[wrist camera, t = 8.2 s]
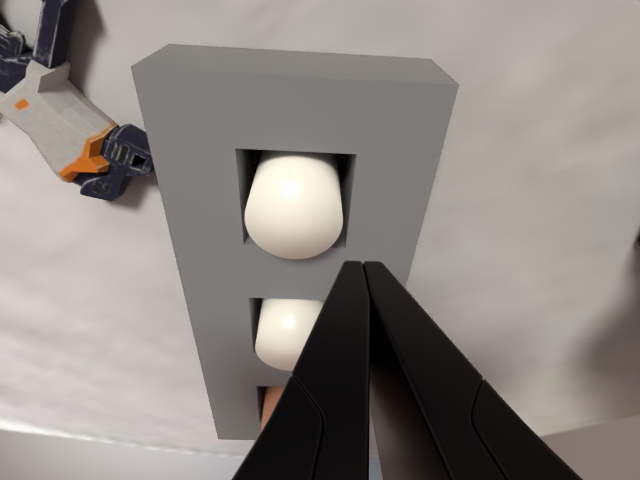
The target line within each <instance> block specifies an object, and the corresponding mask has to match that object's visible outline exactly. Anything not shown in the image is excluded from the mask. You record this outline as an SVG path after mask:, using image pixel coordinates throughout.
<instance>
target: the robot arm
mask: <svg viewBox="0 0 640 480" xmlns="http://www.w3.org/2000/svg"><path fill="white" fill-rule="evenodd" d="M638 244H639V245H640V238H639V240H638ZM369 407H370V408H371V414H372V419H373V425H374V431H375V436H376V442H377V447H378V453H379V459H380V464H381V470H382V476H383V480H583V479H581V478H580V477H579V476H578V475H577V474H576V473H575V472H574V471H573V470H572V469H571V468H570V467H569V466H568V465H567V464H566V463H565V462H564V461H563V460H562V459H561V458H560V457H559V456H557V455H556V454H555V453H554V452H553V451H552V450H551V449H550V448H549V447H548V446H547V445H546V444H545V443H544V442H543V441H542V440H541V439H540V438H539V437H538V436H537V435H536V434H535V433H534V432H533V431H532V430H531V429H530V428H529V427H528V426H527V425H526V424H525V423H524V422H523V421H522V419H521V418H520V417H519V416H518V415H517V414H516V413H515V412H514V411H513V410H512V409H511V407H510V406H509V405H508V404H507V403H506V402H505V401H504V400H503V399H502V398H501V397H500V396H499V394H498V393H497V392H496V391H495V390H494V389H493V388H492V386H491V385H490V384H489V383H488V382H487V381H486V380H485V379H483V380H482V375H481V374H480V373H479V372H478V371H477V370H476V368H475V367H474V366H473V365H472V364H471V363H470V362H469V360H468V359H467V358H466V357H465V356H464V355H463V354H462V353H461V351H460V350H459V349H458V348H457V347H456V346H455V345H454V343H453V342H452V341H451V340H450V339H449V338H448V337H447V335H446V334H445V333H444V332H443V331H442V330H441V329H440V327H439V326H438V325H437V324H436V323H435V322H434V321H433V320H432V318H431V317H430V316H429V315H428V314H427V313H426V312H425V310H424V309H423V308H422V307H421V306H420V305H419V304H418V302H417V301H416V300H415V299H414V298H413V297H412V296H411V294H410V293H409V292H408V291H407V290H406V289H405V288H404V287H403V285H402V284H401V283H400V282H399V281H398V280H397V279H396V277H395V276H394V275H393V274H392V273H391V272H390V271H389V269H388V268H387V267H386V266H385V265H384V264H383V263H382V262H380V261H364V262H363V263H362V262H361V261H348V260H346V261H344V262H343V263H342V266H341V268H340V270H339V272H338V274H337V276H336V278H335V281H334V283H333V285H332V287H331V289H330V291H329V293H328V296H327V298H326V300H325V302H324V304H323V306H322V309H321V311H320V313H319V315H318V317H317V319H316V321H315V324H314V326H313V328H312V330H311V332H310V334H309V337H308V339H307V341H306V343H305V345H304V347H303V349H302V352H301V354H300V356H299V358H298V360H297V362H296V364H295V367H294V369H293V371H292V373H291V376H290V377H289V379H288V381H287V383H286V385H285V388H284V390H283V392H282V394H281V396H280V398H279V400H278V402H277V404H276V406H275V408H274V410H273V412H272V414H271V416H270V417H269V419H268V421H267V423H266V424H265V426H264V428H263V430H262V431H261V433H260V435H259V436H258V438H257V440H256V441H255V443H254V445H253V446H252V448H251V450H250V451H249V453H248V454H247V456H246V458H245V459H244V461H243V462H242V464H241V465H240V467H239V469H238V470H237V472H236V473H235V475H234V476H233V478H232V480H369Z"/></svg>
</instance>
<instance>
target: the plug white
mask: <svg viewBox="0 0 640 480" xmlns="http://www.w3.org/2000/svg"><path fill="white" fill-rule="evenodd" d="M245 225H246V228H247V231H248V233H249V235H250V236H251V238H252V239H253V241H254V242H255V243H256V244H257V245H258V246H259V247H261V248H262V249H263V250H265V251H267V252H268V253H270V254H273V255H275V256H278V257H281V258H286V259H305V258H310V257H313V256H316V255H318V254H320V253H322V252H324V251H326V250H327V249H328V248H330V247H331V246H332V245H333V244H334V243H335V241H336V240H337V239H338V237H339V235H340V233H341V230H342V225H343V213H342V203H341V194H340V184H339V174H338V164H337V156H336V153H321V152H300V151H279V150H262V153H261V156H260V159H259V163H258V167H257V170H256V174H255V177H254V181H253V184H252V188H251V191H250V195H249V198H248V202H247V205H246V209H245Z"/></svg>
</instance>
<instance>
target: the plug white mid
mask: <svg viewBox="0 0 640 480" xmlns="http://www.w3.org/2000/svg"><path fill="white" fill-rule="evenodd" d="M324 302H325V300H307V299H276V298H263V300H262V307H261V313H260V319H259V326H258V332H257V338H256V344H255V350H256V353H257V355H258V357H259V358H260V359H261V360H262V361H263V362H264V363H266V364H267V365H269V366H271V367H274V368H277V369H281V370H286V371H293V369H294V367H295V364H296V362H297V360H298V358H299V356H300V354H301V352H302V349H303V347H304V345H305V343H306V341H307V339H308V337H309V334H310V332H311V330H312V328H313V326H314V324H315V321H316V319H317V317H318V315H319V313H320V311H321V309H322V306H323V304H324Z"/></svg>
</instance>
